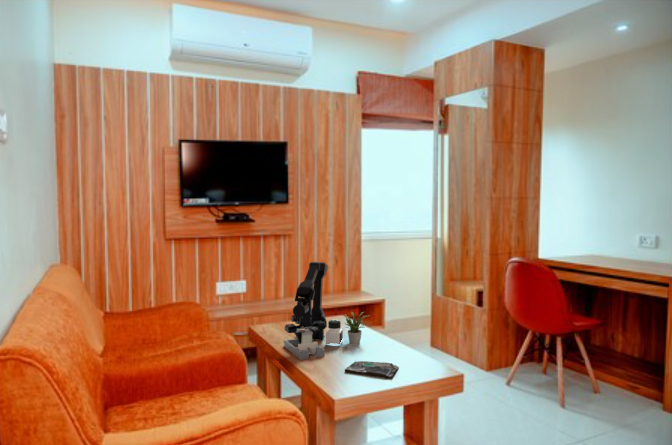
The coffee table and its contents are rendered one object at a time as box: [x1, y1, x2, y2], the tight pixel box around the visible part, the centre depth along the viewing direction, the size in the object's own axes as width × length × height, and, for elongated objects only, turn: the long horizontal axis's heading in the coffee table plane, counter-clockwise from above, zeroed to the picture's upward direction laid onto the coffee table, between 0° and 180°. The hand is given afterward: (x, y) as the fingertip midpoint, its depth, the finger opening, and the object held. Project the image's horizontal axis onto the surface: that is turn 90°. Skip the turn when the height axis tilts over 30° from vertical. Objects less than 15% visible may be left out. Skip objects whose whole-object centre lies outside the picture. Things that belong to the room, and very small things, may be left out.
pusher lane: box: [283, 338, 326, 360], centre depth 228 cm, size 21×12×4 cm, turn 26°
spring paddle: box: [297, 341, 319, 356], centre depth 221 cm, size 8×9×5 cm
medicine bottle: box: [325, 319, 344, 345], centre depth 239 cm, size 7×7×12 cm
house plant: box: [344, 311, 371, 346], centre depth 241 cm, size 14×14×16 cm
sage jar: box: [298, 329, 313, 344], centre depth 226 cm, size 5×5×9 cm
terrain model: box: [344, 360, 400, 380], centre depth 205 cm, size 20×15×3 cm
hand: (305, 344), depth 227 cm, fingers closed on sage jar, 5 cm apart
